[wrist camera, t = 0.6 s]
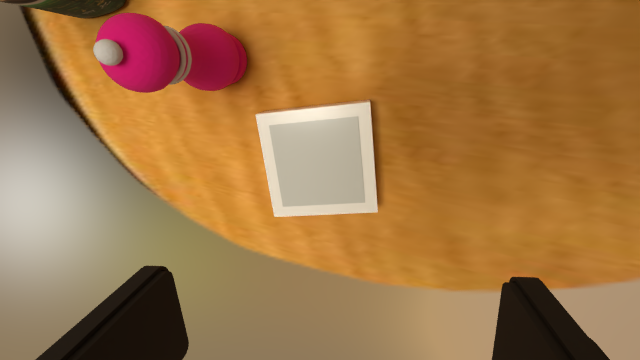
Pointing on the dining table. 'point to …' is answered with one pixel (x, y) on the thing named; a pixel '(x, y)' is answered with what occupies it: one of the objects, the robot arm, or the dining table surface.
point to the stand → (319, 159)
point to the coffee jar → (72, 6)
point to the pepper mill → (167, 54)
